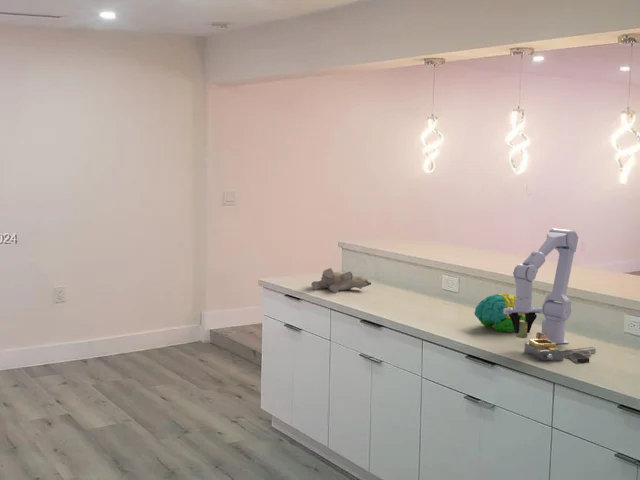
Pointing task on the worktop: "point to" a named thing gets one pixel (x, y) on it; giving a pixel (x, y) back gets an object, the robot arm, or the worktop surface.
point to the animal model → (340, 281)
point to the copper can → (541, 335)
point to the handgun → (579, 354)
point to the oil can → (522, 329)
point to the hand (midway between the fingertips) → (521, 332)
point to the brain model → (497, 312)
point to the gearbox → (544, 350)
